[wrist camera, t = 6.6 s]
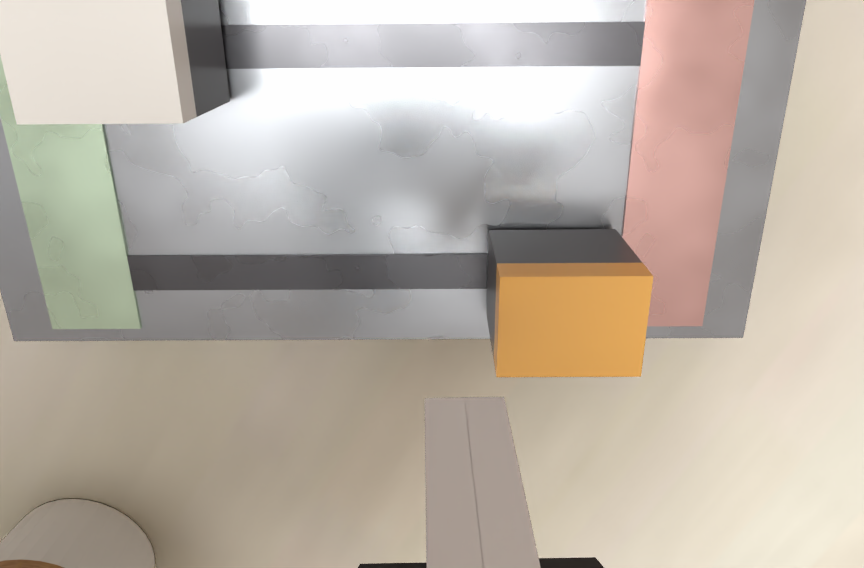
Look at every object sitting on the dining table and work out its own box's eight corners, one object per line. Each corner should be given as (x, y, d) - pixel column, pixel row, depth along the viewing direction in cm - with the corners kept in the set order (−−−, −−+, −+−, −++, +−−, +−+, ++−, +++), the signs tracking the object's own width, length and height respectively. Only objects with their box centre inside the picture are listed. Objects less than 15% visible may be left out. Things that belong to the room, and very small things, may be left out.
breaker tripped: (486, 315, 23) (496, 377, 19) (488, 229, 21) (500, 277, 18) (607, 315, 22) (640, 376, 19) (615, 229, 21) (653, 276, 18)
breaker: (94, 102, 20) (16, 124, 16) (73, -9, 19) (-16, -12, 15) (229, 101, 20) (183, 123, 16) (217, -10, 19) (163, -14, 15)
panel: (39, 320, 25) (11, 342, 23) (-129, -342, 18) (-185, -377, 16) (724, 317, 25) (744, 339, 23) (841, -354, 17) (881, -390, 16)
